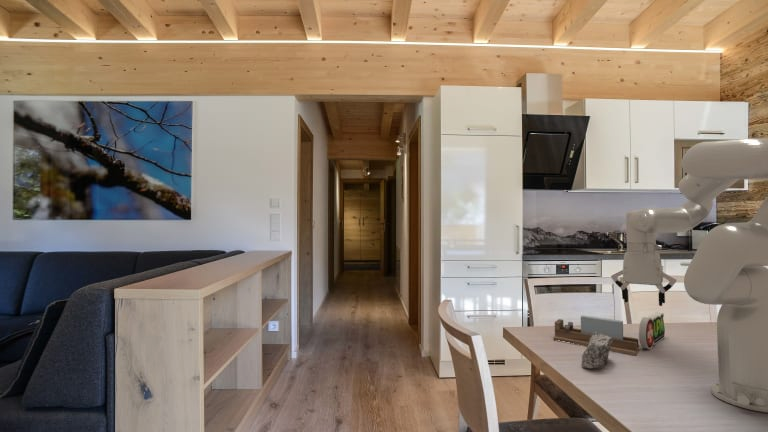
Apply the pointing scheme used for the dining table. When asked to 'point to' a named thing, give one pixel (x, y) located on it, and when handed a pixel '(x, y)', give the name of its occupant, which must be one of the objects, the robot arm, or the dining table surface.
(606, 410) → the dining table surface
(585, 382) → the dining table surface
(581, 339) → the rail
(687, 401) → the dining table surface
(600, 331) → the panel
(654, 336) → the sign
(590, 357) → the rock
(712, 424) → the dining table surface
